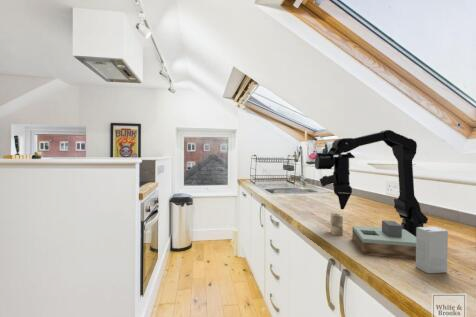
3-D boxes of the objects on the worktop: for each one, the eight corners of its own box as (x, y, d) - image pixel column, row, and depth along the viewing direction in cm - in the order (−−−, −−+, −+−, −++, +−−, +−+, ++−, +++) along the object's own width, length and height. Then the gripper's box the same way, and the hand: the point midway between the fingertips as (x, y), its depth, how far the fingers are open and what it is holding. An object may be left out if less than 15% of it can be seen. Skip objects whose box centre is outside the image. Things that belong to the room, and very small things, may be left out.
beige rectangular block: (340, 232, 98) (340, 214, 98) (342, 235, 94) (342, 216, 94) (330, 231, 99) (330, 213, 99) (332, 235, 95) (332, 215, 95)
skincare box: (433, 265, 69) (433, 225, 68) (448, 273, 64) (449, 230, 64) (414, 266, 68) (414, 226, 68) (428, 274, 64) (429, 231, 63)
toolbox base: (404, 243, 86) (404, 232, 86) (425, 259, 72) (425, 247, 72) (352, 239, 90) (352, 228, 90) (362, 254, 77) (363, 242, 77)
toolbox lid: (404, 232, 86) (404, 218, 86) (425, 247, 72) (425, 231, 72) (352, 228, 90) (352, 215, 90) (363, 242, 77) (363, 226, 76)
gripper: (321, 167, 106) (321, 201, 106) (320, 170, 89) (320, 210, 89) (347, 167, 102) (348, 202, 102) (352, 170, 84) (352, 212, 85)
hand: (341, 206), depth 95 cm, fingers open, 9 cm apart
